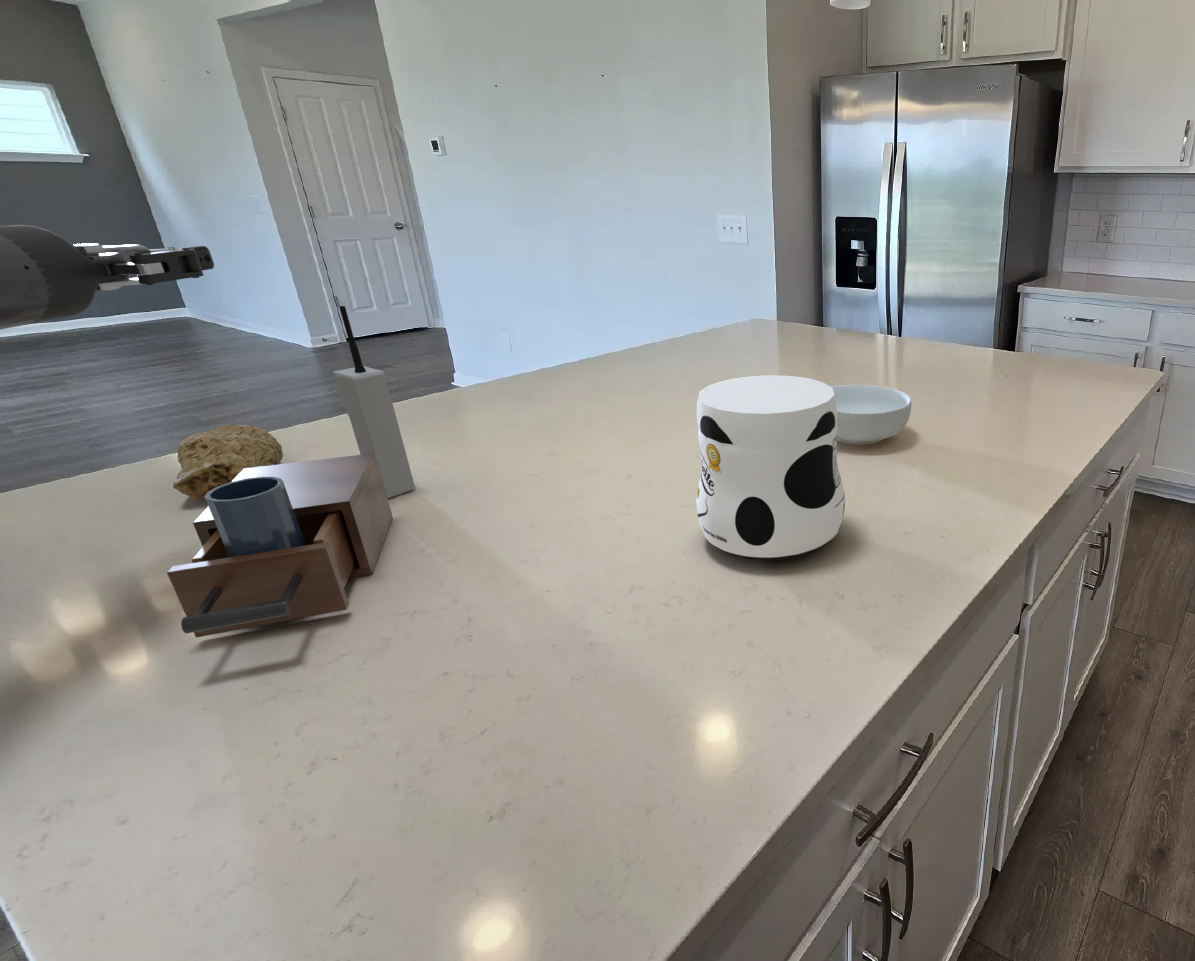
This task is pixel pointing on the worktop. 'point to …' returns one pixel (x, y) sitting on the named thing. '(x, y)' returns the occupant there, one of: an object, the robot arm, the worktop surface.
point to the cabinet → (331, 500)
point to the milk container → (769, 466)
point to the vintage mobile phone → (374, 418)
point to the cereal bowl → (869, 413)
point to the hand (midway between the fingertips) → (162, 257)
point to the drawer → (266, 580)
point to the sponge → (223, 457)
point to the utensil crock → (254, 516)
